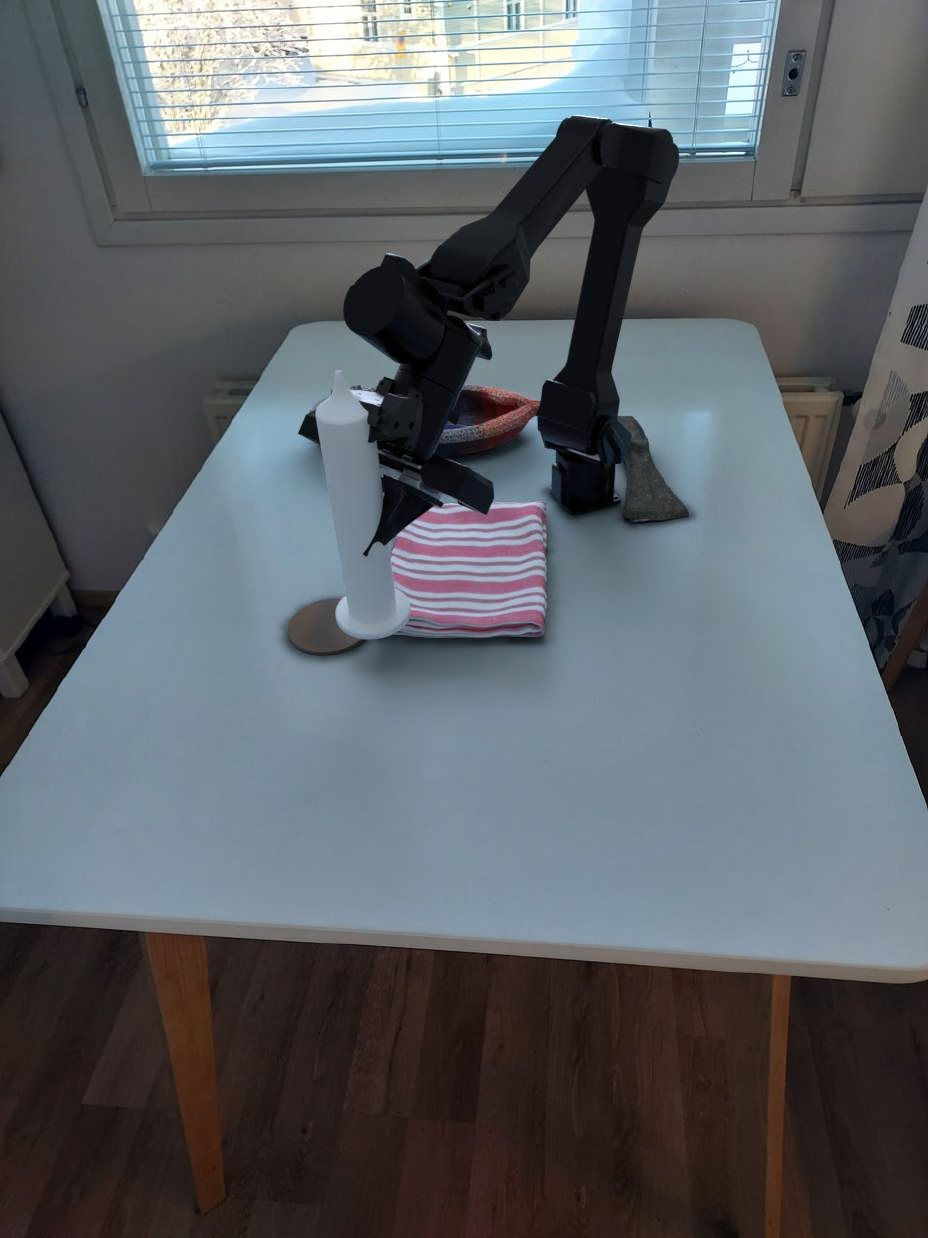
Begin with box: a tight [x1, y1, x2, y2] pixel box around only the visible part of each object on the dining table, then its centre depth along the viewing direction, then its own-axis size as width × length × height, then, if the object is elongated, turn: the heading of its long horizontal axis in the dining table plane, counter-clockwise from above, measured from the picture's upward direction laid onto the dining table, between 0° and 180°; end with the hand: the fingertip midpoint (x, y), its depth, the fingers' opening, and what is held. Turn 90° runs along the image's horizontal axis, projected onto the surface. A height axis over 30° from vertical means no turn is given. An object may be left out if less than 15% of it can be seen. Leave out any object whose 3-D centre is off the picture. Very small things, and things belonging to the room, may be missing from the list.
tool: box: [617, 415, 690, 523], centre depth 112 cm, size 21×8×3 cm, turn 6°
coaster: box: [287, 598, 365, 656], centre depth 94 cm, size 8×8×1 cm
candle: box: [315, 369, 411, 640], centre depth 79 cm, size 7×7×25 cm
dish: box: [308, 383, 541, 458], centre depth 121 cm, size 16×31×5 cm, turn 84°
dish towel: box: [391, 500, 548, 639], centre depth 98 cm, size 17×23×4 cm
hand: (354, 550), depth 81 cm, fingers closed on candle, 2 cm apart
